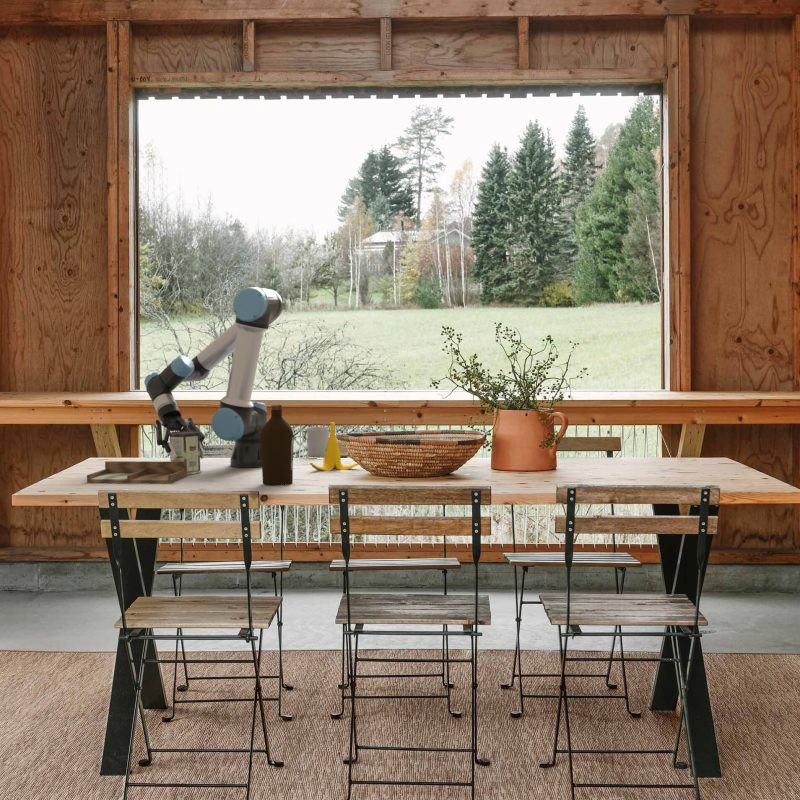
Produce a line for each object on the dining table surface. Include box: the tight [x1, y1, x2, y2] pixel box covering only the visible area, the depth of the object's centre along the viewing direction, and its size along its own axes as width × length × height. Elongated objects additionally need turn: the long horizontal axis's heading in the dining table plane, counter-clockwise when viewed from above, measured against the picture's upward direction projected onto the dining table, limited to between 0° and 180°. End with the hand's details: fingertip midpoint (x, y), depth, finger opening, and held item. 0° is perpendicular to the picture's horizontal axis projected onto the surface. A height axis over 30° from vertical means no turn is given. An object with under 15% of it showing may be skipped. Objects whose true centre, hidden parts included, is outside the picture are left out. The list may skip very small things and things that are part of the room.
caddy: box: [86, 460, 188, 484], centre depth 323 cm, size 28×16×5 cm, turn 84°
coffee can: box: [169, 431, 202, 476], centre depth 339 cm, size 10×10×14 cm
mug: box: [306, 426, 330, 458], centre depth 386 cm, size 12×8×11 cm
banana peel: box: [309, 421, 359, 472], centre depth 345 cm, size 17×19×17 cm
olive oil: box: [260, 404, 295, 487], centre depth 311 cm, size 11×11×25 cm
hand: (189, 457), depth 336 cm, fingers closed on coffee can, 10 cm apart
